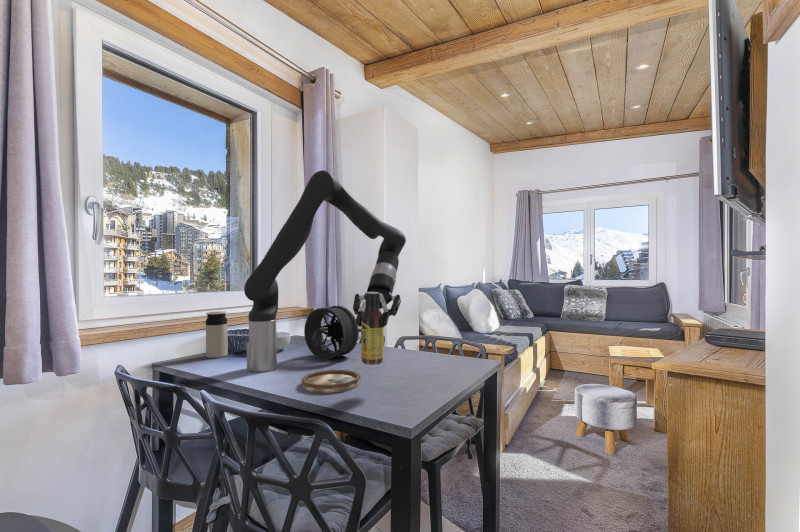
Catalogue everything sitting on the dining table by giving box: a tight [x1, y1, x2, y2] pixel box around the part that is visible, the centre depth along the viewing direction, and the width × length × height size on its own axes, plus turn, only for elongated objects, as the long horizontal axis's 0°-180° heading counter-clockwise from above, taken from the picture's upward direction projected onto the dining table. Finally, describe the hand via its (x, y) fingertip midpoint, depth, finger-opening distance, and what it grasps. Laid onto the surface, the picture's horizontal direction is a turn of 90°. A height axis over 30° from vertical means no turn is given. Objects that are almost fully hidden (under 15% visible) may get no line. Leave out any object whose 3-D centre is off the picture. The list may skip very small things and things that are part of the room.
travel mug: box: [205, 310, 229, 359], centre depth 164 cm, size 8×8×18 cm
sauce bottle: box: [360, 291, 384, 366], centre depth 113 cm, size 7×6×20 cm
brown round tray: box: [301, 369, 362, 394], centre depth 121 cm, size 17×17×2 cm
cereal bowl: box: [276, 331, 291, 352], centre depth 173 cm, size 17×17×7 cm
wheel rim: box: [303, 305, 360, 361], centre depth 158 cm, size 20×9×20 cm, turn 60°
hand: (370, 325), depth 111 cm, fingers closed on sauce bottle, 6 cm apart
